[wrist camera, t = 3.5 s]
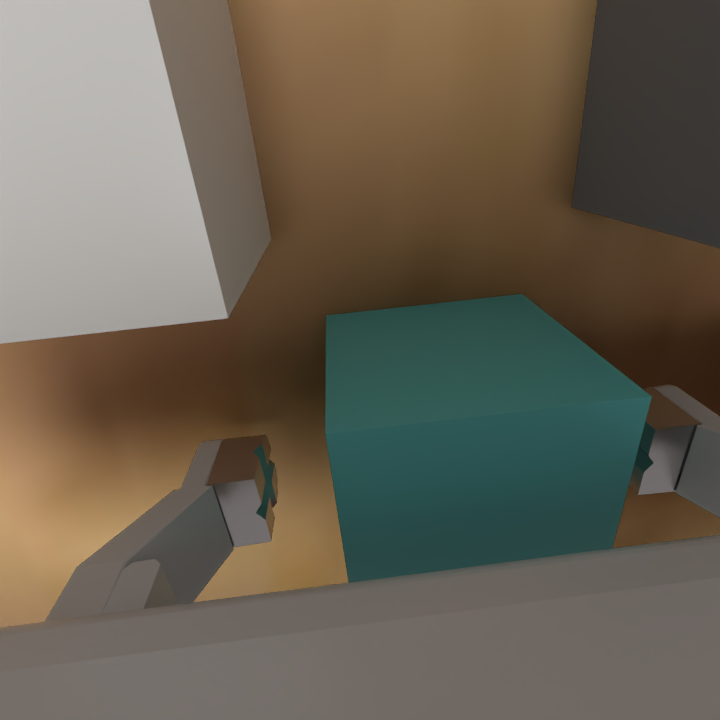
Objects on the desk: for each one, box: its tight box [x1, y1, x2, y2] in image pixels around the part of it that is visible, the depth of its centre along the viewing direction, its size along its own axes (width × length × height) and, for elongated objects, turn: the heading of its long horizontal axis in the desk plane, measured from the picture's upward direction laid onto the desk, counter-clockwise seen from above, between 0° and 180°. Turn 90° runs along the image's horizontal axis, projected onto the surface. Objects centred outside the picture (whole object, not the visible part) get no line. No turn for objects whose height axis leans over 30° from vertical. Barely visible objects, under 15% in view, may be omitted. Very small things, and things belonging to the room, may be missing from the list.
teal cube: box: [325, 294, 652, 582], centre depth 10 cm, size 5×5×5 cm
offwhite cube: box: [0, 0, 271, 344], centre depth 7 cm, size 5×5×5 cm
